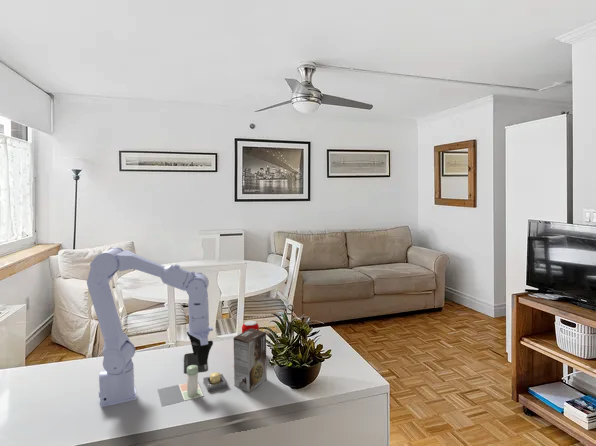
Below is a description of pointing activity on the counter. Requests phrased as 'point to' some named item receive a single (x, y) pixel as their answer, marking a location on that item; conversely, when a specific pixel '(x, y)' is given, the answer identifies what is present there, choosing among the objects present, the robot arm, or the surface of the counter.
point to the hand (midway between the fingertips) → (200, 359)
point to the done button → (215, 378)
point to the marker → (192, 380)
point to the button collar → (215, 386)
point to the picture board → (176, 394)
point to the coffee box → (250, 359)
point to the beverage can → (249, 325)
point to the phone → (193, 362)
